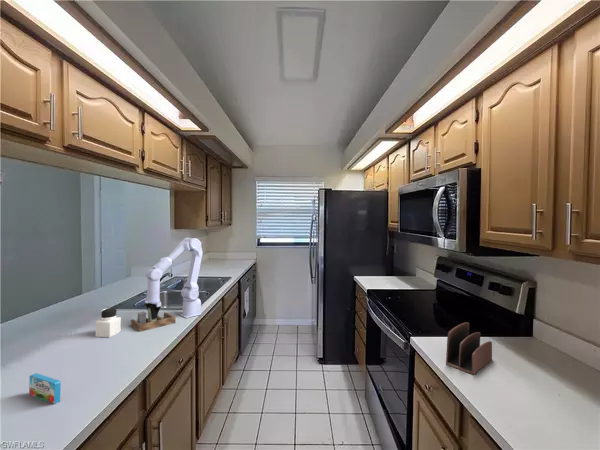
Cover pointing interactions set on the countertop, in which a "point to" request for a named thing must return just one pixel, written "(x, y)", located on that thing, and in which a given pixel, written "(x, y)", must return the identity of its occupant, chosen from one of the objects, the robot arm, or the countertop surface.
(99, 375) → the countertop surface
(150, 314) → the sage block
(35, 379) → the yogurt
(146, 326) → the comb rack
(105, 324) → the medicine bottle
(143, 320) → the gray block
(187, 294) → the robot arm
